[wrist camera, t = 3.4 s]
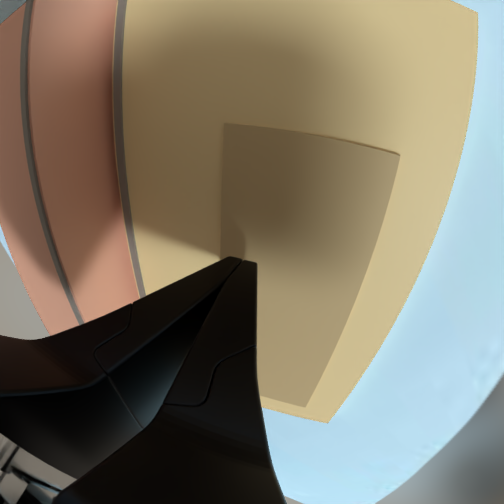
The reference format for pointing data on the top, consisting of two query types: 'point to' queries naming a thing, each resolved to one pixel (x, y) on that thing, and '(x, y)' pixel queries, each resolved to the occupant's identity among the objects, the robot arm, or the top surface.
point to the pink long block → (62, 161)
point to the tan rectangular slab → (293, 164)
